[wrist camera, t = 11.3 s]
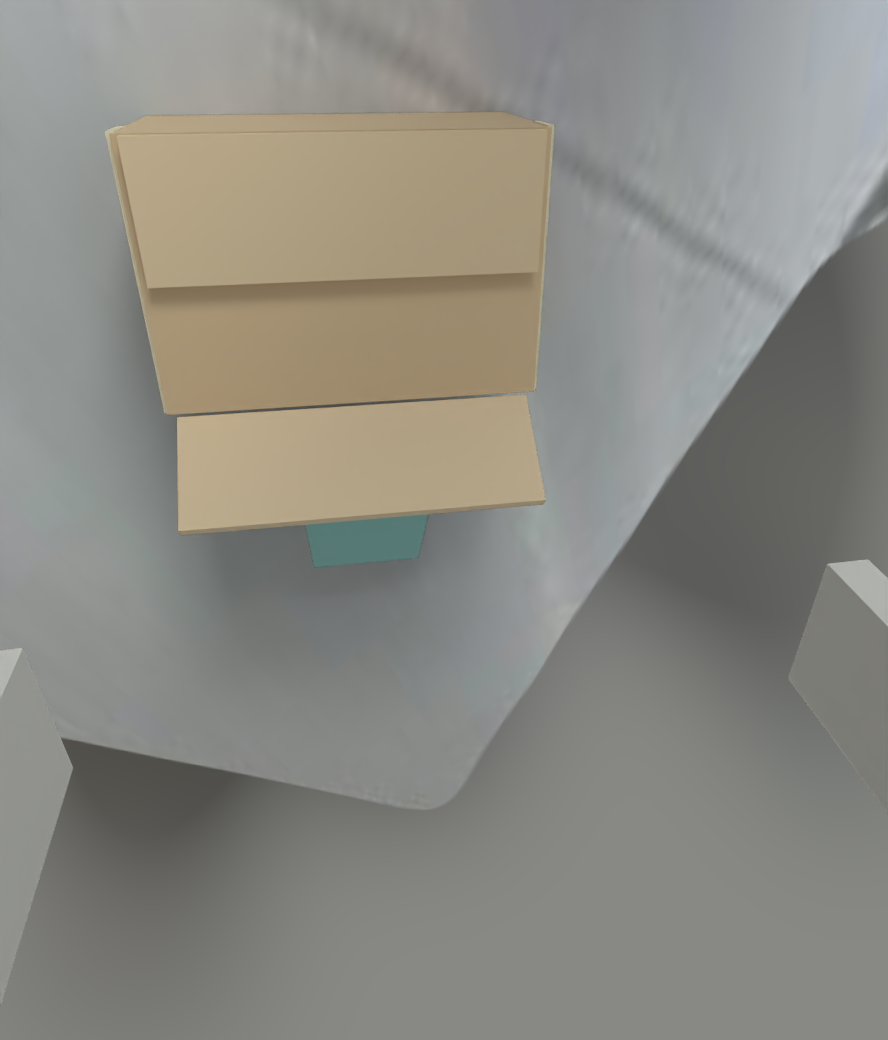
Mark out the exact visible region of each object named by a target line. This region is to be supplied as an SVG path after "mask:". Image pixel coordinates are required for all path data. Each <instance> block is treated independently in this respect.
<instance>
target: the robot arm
mask: <svg viewBox="0 0 888 1040" xmlns="http://www.w3.org/2000/svg"><path fill="white" fill-rule="evenodd" d="M788 679H789V681H790V682H791V683H792V685H793V686H794V687H795V689H796V690H797V691H798V693H799V694H800V695H801V697H802V698H803V700H804V701H805V702H806V704H807V705H808V706H809V708H810V709H811V710H812V712H813V713H814V714H815V716H816V717H817V718H818V720H819V721H820V722H821V724H822V725H823V727H824V728H825V729H826V731H827V732H828V733H829V735H830V736H831V737H832V739H833V740H834V741H835V743H836V744H837V745H838V747H839V748H840V749H841V751H842V752H843V754H844V755H845V756H846V757H847V759H848V760H849V761H850V763H851V764H852V766H853V767H854V768H855V770H856V771H857V772H858V774H859V775H860V776H861V778H862V779H863V781H864V782H865V783H866V785H867V786H868V787H869V789H870V790H871V791H872V793H873V794H874V795H875V797H876V798H877V799H878V801H879V802H880V804H881V805H882V806H883V807H884V809H885V810H886V812H887V813H888V578H887V577H886V576H885V575H884V574H882V573H881V572H880V571H879V570H878V569H877V568H876V567H875V566H874V565H873V564H872V563H871V562H870V561H869V560H860V561H850V562H842V563H831V564H827V566H826V569H825V572H824V575H823V578H822V581H821V584H820V587H819V590H818V593H817V595H816V598H815V601H814V605H813V607H812V610H811V613H810V616H809V619H808V622H807V625H806V628H805V631H804V634H803V636H802V639H801V642H800V646H799V648H798V651H797V654H796V657H795V660H794V663H793V666H792V668H791V672H790V674H789V678H788ZM72 770H73V767H72V764H71V762H70V760H69V757H68V755H67V752H66V750H65V747H64V745H63V743H62V740H61V738H60V735H59V733H58V731H57V728H56V726H55V724H54V721H53V719H52V716H51V714H50V712H49V709H48V707H47V704H46V702H45V700H44V697H43V695H42V693H41V690H40V688H39V685H38V683H37V681H36V678H35V676H34V673H33V671H32V669H31V666H30V664H29V662H28V659H27V657H26V654H25V652H24V650H23V648H19V649H10V650H0V1005H1V1002H2V999H3V995H4V992H5V989H6V985H7V982H8V979H9V976H10V973H11V969H12V966H13V963H14V960H15V956H16V953H17V950H18V947H19V943H20V940H21V937H22V933H23V930H24V927H25V923H26V920H27V917H28V914H29V910H30V907H31V904H32V901H33V897H34V894H35V891H36V887H37V884H38V881H39V878H40V874H41V871H42V868H43V865H44V861H45V858H46V855H47V852H48V848H49V845H50V842H51V838H52V835H53V832H54V829H55V825H56V822H57V819H58V816H59V812H60V809H61V806H62V802H63V799H64V796H65V793H66V789H67V786H68V783H69V780H70V776H71V773H72Z"/></svg>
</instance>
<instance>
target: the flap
mask: <svg viewBox="0 0 888 1040" xmlns="http://www.w3.org/2000/svg"><path fill="white" fill-rule="evenodd" d="M177 458H178V531H179V533H180V534H181V535H192V534H204V533H216V532H227V531H239V530H251V529H262V528H274V527H286V526H297V525H305V526H306V531H307V536H308V541H309V546H310V551H311V555H312V560H313V565H314V568H316V567H327V566H337V565H348V564H359V563H369V562H380V561H391V560H401V559H412V558H418V557H419V553H420V548H421V544H422V540H423V535H424V531H425V527H426V523H427V518H428V514H437V513H449V512H460V511H472V510H484V509H495V508H507V507H519V506H530V505H542V504H544V502H545V501H546V498H545V492H544V487H543V482H542V476H541V471H540V465H539V460H538V455H537V449H536V444H535V439H534V433H533V428H532V423H531V417H530V412H529V407H528V401H527V396H526V395H513V396H498V397H482V398H467V399H451V400H436V401H421V402H405V403H390V404H374V405H359V406H343V407H328V408H312V409H297V410H282V411H266V412H251V413H235V414H220V415H204V416H189V417H177Z"/></svg>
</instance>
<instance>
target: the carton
mask: <svg viewBox="0 0 888 1040" xmlns="http://www.w3.org/2000/svg"><path fill="white" fill-rule="evenodd" d="M554 128H555V125H552V124H549V123H546V122H542V121H531V120H528V119H525V118H521V117H518V116H515V115H512V114H509V113H506V112H441V113H350V114H259V115H168V116H145V117H143V118H141V119H139V120H137V121H134V122H132V123H130V124H128V125H126V126H116V127H114V128H111V129H109V130H107V131H105V134H106V139H107V144H108V148H109V153H110V158H111V162H112V167H113V172H114V177H115V181H116V186H117V191H118V196H119V200H120V205H121V210H122V215H123V219H124V224H125V229H126V233H127V238H128V243H129V248H130V252H131V257H132V262H133V267H134V271H135V276H136V281H137V286H138V290H139V295H140V300H141V304H142V309H143V314H144V319H145V323H146V328H147V333H148V338H149V342H150V347H151V352H152V357H153V361H154V366H155V371H156V375H157V380H158V385H159V390H160V394H161V399H162V404H163V409H164V413H165V414H167V413H168V415H175V414H191V413H206V412H222V411H237V410H253V409H269V408H284V407H300V406H315V405H331V404H346V403H362V402H378V401H393V400H409V399H424V398H440V397H456V396H471V395H487V394H502V393H518V392H533V391H534V390H536V384H537V370H538V356H539V341H540V327H541V313H542V299H543V284H544V270H545V256H546V242H547V227H548V213H549V199H550V185H551V170H552V156H553V142H554Z"/></svg>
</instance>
